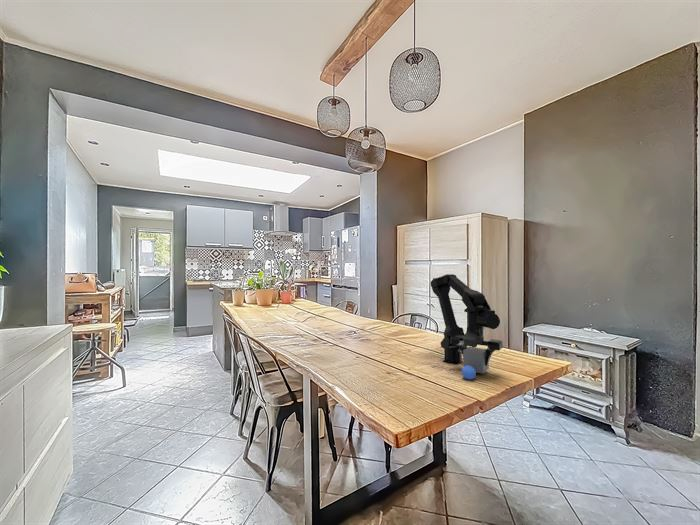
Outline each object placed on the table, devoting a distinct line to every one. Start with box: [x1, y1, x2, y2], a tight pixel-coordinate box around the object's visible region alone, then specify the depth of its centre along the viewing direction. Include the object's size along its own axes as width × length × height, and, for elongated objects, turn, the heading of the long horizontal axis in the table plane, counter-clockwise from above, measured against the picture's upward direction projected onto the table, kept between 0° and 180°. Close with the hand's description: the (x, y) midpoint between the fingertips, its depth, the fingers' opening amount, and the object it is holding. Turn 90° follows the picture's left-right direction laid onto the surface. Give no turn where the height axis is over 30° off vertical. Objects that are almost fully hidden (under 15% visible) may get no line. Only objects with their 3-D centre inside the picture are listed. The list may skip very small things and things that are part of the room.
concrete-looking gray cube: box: [462, 346, 490, 374], centre depth 121 cm, size 8×8×8 cm
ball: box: [461, 365, 477, 381], centre depth 114 cm, size 5×5×5 cm
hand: (476, 363), depth 121 cm, fingers closed on concrete-looking gray cube, 7 cm apart
